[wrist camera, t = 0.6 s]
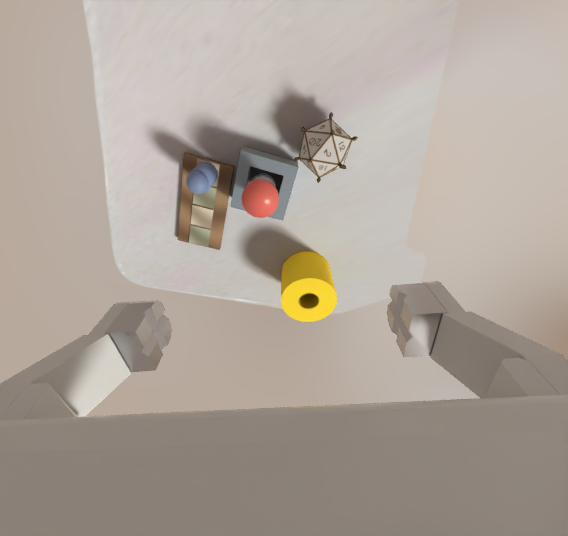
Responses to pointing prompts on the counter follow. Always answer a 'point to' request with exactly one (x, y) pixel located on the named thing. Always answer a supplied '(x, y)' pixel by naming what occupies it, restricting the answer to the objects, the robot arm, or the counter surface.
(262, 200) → the plunger
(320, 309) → the yellow hollow cylinder
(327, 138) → the game die
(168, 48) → the counter surface
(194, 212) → the track board
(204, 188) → the pawn
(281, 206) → the base
